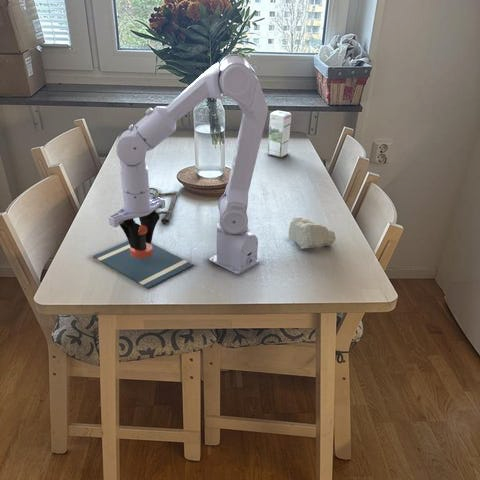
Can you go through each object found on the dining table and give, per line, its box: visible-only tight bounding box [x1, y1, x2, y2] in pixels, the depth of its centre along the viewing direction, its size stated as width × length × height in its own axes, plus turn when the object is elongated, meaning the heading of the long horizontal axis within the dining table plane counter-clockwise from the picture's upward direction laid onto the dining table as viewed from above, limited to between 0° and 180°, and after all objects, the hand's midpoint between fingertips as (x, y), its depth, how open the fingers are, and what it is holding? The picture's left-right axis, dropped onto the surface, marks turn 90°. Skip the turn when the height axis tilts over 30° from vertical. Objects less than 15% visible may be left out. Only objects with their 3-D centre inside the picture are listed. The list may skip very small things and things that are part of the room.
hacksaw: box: [149, 187, 179, 225], centre depth 145 cm, size 24×10×2 cm, turn 179°
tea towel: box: [92, 240, 194, 290], centre depth 120 cm, size 20×14×1 cm
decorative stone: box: [288, 217, 337, 250], centre depth 128 cm, size 11×9×10 cm
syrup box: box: [267, 110, 292, 158], centre depth 180 cm, size 6×6×14 cm
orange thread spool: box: [130, 224, 153, 258], centre depth 117 cm, size 5×5×6 cm
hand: (141, 244), depth 118 cm, fingers closed on orange thread spool, 3 cm apart
